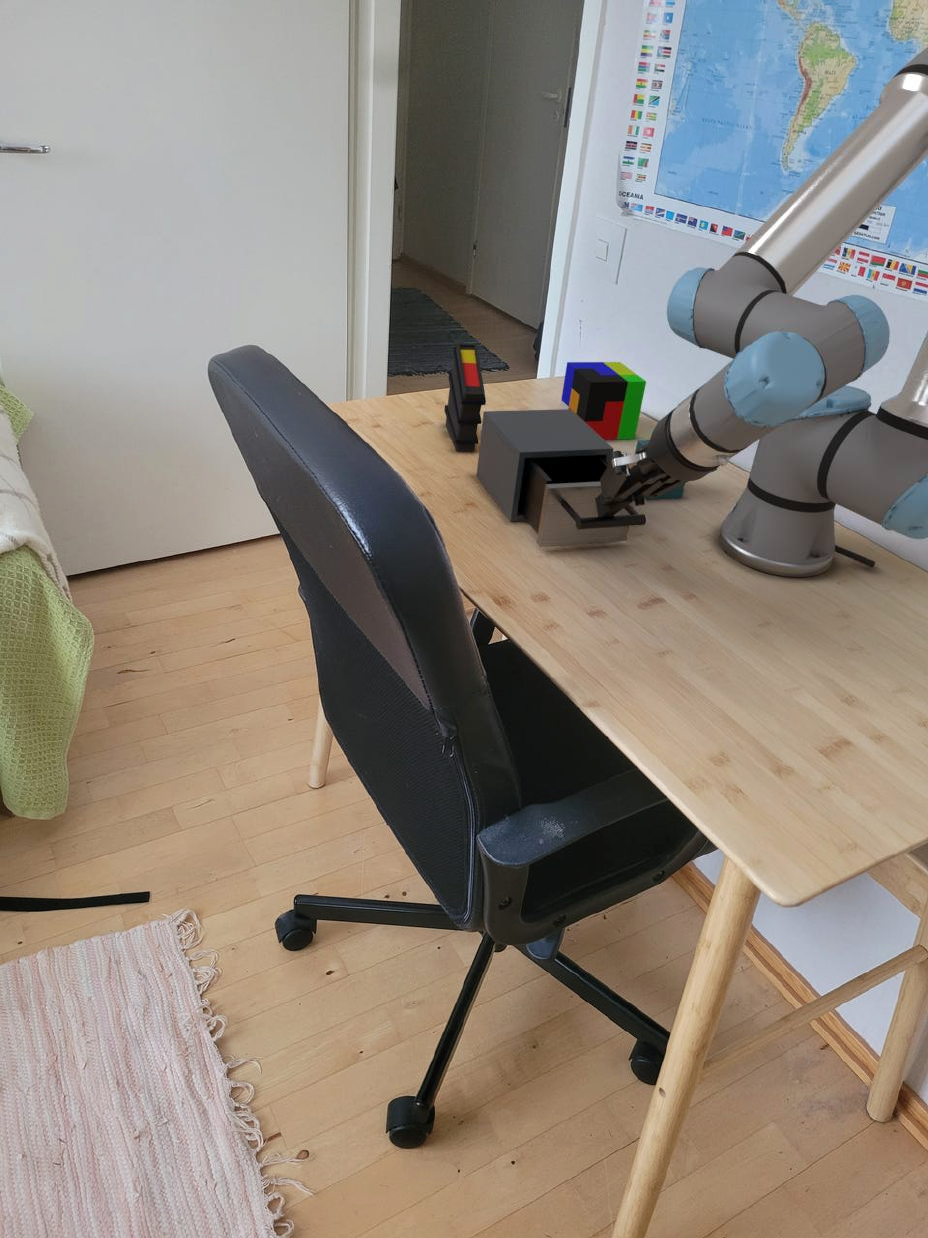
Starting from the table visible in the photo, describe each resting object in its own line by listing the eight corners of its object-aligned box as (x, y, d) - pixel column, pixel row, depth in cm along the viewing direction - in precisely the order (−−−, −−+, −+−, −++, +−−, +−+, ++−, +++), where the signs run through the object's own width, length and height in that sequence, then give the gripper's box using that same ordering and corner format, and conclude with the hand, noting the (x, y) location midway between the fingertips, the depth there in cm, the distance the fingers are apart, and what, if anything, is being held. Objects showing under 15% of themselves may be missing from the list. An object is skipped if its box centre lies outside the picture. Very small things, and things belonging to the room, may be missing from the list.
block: (663, 480, 148) (672, 438, 144) (682, 497, 143) (692, 454, 139) (628, 482, 146) (637, 439, 142) (646, 499, 141) (656, 455, 137)
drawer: (649, 564, 122) (662, 505, 117) (559, 572, 118) (569, 511, 114) (585, 496, 138) (594, 442, 133) (504, 501, 134) (511, 445, 129)
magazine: (462, 410, 161) (478, 342, 148) (472, 470, 154) (489, 404, 141) (441, 409, 160) (454, 341, 147) (449, 470, 153) (464, 403, 141)
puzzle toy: (558, 418, 167) (567, 362, 161) (610, 416, 170) (620, 361, 164) (581, 440, 159) (591, 382, 153) (634, 438, 162) (646, 381, 156)
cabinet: (600, 516, 135) (613, 448, 129) (510, 522, 131) (519, 452, 125) (560, 472, 147) (570, 408, 141) (476, 476, 142) (483, 411, 137)
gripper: (649, 471, 94) (559, 540, 116) (761, 467, 98) (653, 534, 120) (636, 400, 95) (549, 481, 117) (747, 399, 99) (643, 478, 121)
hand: (602, 508), depth 119 cm, fingers closed
